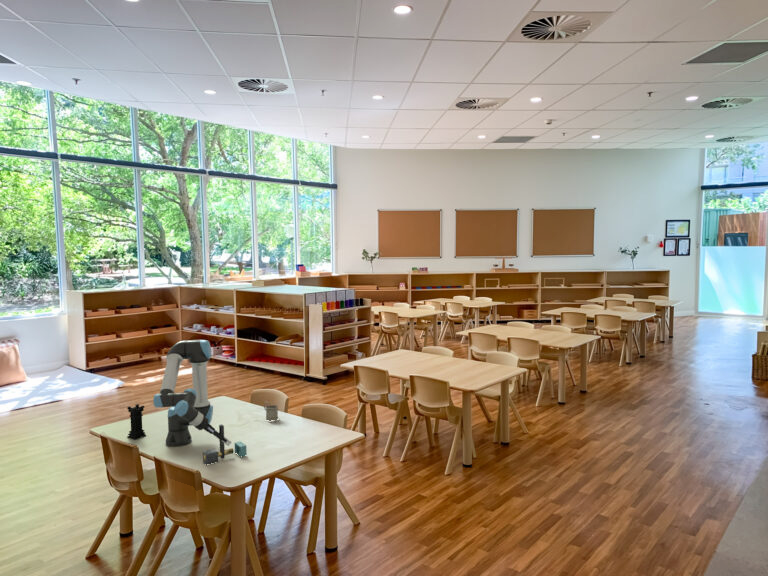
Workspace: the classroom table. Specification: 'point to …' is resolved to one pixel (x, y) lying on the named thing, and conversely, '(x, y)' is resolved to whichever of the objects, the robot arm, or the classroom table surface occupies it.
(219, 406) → the classroom table surface
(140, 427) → the chess piece
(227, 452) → the dark grey post stand
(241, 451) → the teal socket block
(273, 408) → the mug
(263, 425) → the classroom table surface
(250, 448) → the classroom table surface
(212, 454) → the graphite sleeve
